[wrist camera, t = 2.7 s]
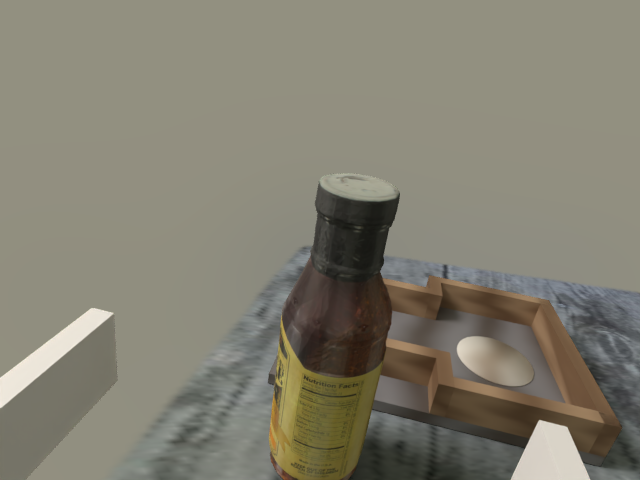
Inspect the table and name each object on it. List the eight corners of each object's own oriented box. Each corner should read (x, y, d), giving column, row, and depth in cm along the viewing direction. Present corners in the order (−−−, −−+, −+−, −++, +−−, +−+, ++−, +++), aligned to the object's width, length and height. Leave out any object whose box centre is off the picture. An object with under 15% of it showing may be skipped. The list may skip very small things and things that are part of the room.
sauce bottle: (293, 409, 33) (330, 156, 25) (369, 445, 31) (436, 182, 23) (245, 476, 28) (273, 179, 20) (334, 526, 25) (406, 215, 17)
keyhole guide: (536, 330, 48) (548, 300, 47) (599, 466, 32) (622, 427, 30) (313, 281, 52) (317, 251, 50) (267, 383, 35) (272, 343, 34)
